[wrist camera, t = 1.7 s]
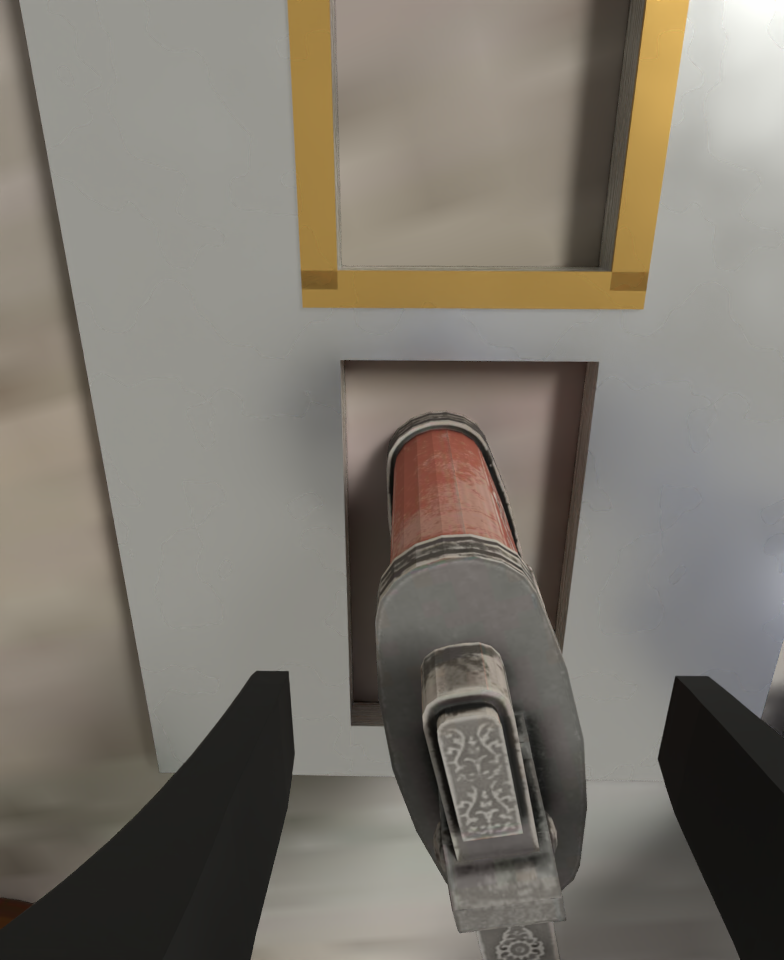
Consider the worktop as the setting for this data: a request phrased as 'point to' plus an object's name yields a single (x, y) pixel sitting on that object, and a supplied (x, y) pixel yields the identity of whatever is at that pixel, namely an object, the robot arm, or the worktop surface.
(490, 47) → the worktop surface
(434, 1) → the worktop surface
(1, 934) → the robot arm
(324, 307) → the rail plate
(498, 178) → the worktop surface
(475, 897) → the lighter
